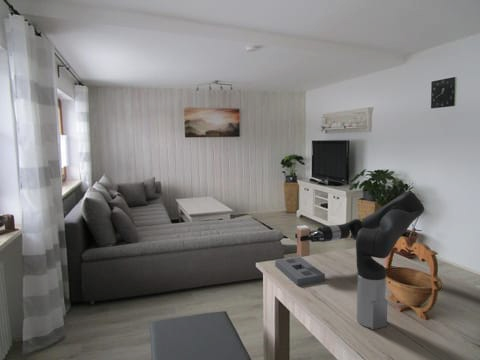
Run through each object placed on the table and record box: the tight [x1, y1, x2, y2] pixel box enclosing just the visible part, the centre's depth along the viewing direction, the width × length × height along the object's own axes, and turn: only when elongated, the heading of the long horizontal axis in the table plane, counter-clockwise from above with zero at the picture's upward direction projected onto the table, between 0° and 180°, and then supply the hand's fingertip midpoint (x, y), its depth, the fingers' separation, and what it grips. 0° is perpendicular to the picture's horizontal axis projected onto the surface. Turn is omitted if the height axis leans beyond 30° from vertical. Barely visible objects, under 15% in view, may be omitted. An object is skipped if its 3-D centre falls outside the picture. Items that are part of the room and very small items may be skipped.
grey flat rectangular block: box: [274, 256, 326, 287], centre depth 156 cm, size 24×14×3 cm, turn 17°
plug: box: [296, 224, 311, 258], centre depth 155 cm, size 4×4×14 cm
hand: (298, 237), depth 154 cm, fingers closed on plug, 4 cm apart
